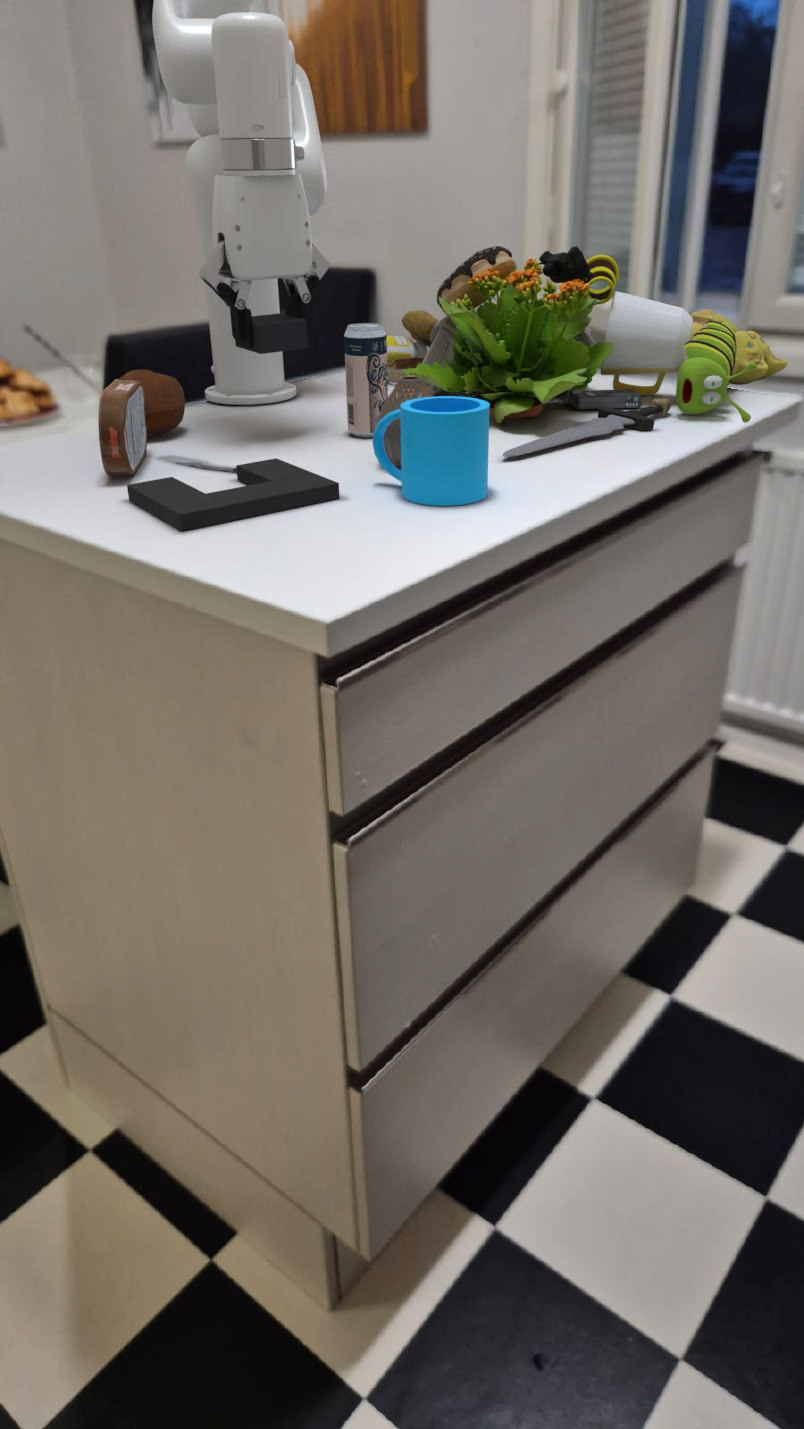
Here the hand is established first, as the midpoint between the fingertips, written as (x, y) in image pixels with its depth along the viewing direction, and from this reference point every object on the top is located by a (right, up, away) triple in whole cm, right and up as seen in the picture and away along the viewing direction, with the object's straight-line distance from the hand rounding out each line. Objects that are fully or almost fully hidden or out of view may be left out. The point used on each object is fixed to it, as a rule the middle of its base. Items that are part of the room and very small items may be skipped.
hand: (271, 341), depth 111 cm
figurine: (+55, +12, +33) cm, 65 cm away
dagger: (+43, -1, +14) cm, 45 cm away
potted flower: (+27, -3, +15) cm, 31 cm away
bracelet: (+17, +7, +35) cm, 39 cm away
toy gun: (+32, +15, +10) cm, 37 cm away
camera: (+19, +5, +29) cm, 35 cm away
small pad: (0, -1, 0) cm, 1 cm away
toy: (+52, +5, +17) cm, 55 cm away
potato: (-15, -9, +6) cm, 19 cm away
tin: (-14, -16, -7) cm, 22 cm away
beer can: (+11, -9, +5) cm, 15 cm away
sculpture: (+22, +14, +35) cm, 44 cm away
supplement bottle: (+9, +12, +37) cm, 40 cm away
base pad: (-1, -22, -18) cm, 28 cm away
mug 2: (+52, +5, +17) cm, 55 cm away
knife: (-4, -16, -7) cm, 18 cm away
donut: (+25, +12, +15) cm, 32 cm away
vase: (+16, -16, -8) cm, 24 cm away
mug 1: (+17, -21, -16) cm, 31 cm away
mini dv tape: (+41, -2, +14) cm, 44 cm away
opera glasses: (+36, +13, +15) cm, 41 cm away
